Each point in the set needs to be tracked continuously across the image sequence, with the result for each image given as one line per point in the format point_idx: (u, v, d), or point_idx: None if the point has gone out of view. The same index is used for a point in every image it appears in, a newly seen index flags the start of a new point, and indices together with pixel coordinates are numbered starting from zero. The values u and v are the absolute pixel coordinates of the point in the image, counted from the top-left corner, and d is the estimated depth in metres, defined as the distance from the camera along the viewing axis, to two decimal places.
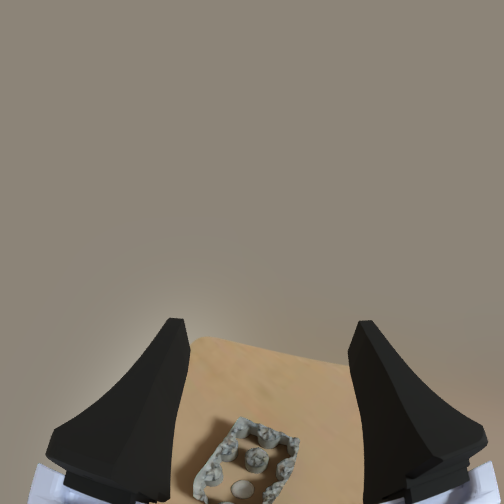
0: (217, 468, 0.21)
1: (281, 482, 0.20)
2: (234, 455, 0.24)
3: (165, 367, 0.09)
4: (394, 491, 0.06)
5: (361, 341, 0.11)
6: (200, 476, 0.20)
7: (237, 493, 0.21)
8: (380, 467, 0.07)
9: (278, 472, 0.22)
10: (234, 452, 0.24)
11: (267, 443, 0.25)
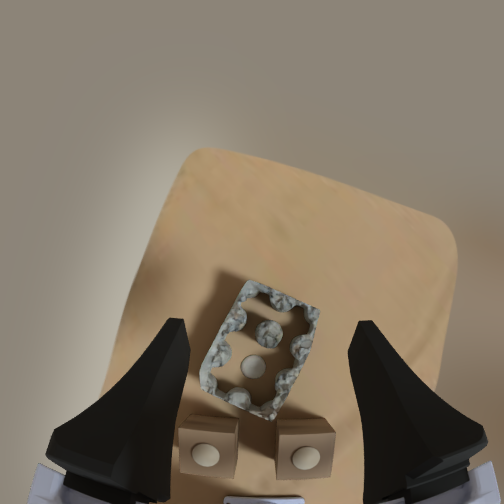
0: (224, 352, 0.23)
1: (296, 370, 0.22)
2: (243, 326, 0.25)
3: (165, 367, 0.09)
4: (394, 491, 0.06)
5: (361, 341, 0.11)
6: (206, 365, 0.23)
7: (247, 372, 0.25)
8: (380, 467, 0.07)
9: (293, 352, 0.24)
10: (242, 326, 0.24)
11: (282, 311, 0.25)
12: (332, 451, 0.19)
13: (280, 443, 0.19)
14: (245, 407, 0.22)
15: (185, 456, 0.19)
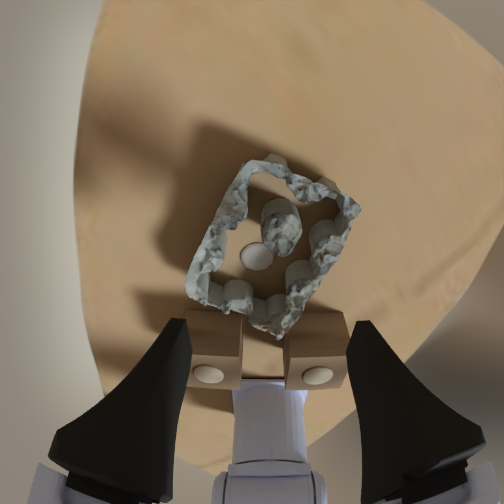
0: (216, 258, 0.17)
1: (315, 283, 0.17)
2: None
3: (168, 367, 0.09)
4: (391, 492, 0.06)
5: (359, 341, 0.11)
6: (192, 276, 0.17)
7: (249, 263, 0.20)
8: (377, 468, 0.07)
9: (313, 255, 0.17)
10: None
11: None
12: (346, 369, 0.20)
13: (291, 364, 0.19)
14: (246, 313, 0.20)
15: None
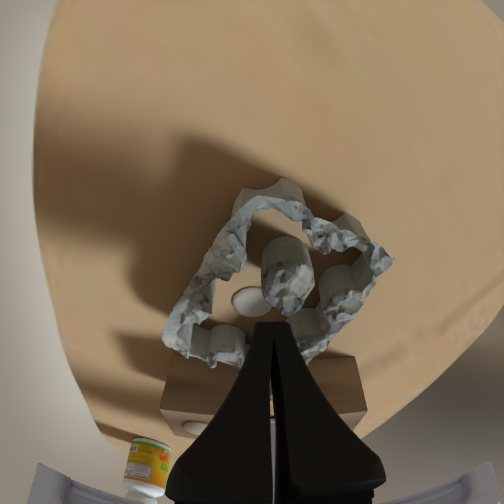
0: (201, 310, 0.13)
1: (323, 343, 0.14)
2: None
3: None
4: None
5: (273, 343, 0.11)
6: (171, 328, 0.13)
7: (242, 309, 0.16)
8: (278, 479, 0.07)
9: (324, 311, 0.14)
10: None
11: None
12: (357, 422, 0.16)
13: None
14: (236, 365, 0.16)
15: (177, 427, 0.16)
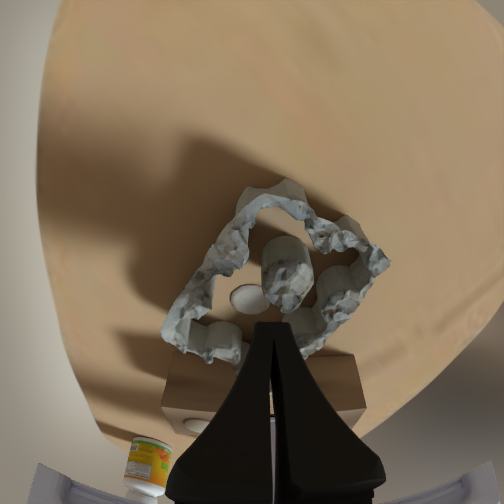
0: (201, 305, 0.13)
1: (319, 342, 0.14)
2: None
3: None
4: None
5: (273, 343, 0.11)
6: (170, 322, 0.13)
7: (240, 306, 0.16)
8: (278, 479, 0.07)
9: (321, 310, 0.14)
10: None
11: None
12: (356, 420, 0.16)
13: None
14: (232, 362, 0.16)
15: (178, 424, 0.17)
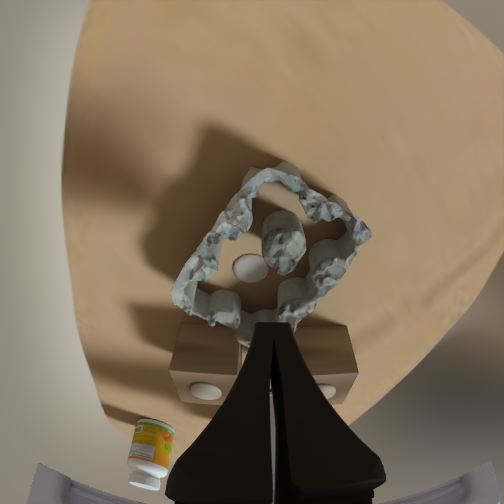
0: (209, 267, 0.15)
1: (310, 305, 0.16)
2: None
3: None
4: None
5: (273, 343, 0.11)
6: (180, 283, 0.16)
7: (241, 275, 0.18)
8: (278, 479, 0.07)
9: (313, 276, 0.16)
10: None
11: None
12: (350, 386, 0.18)
13: None
14: (232, 326, 0.19)
15: (184, 391, 0.19)
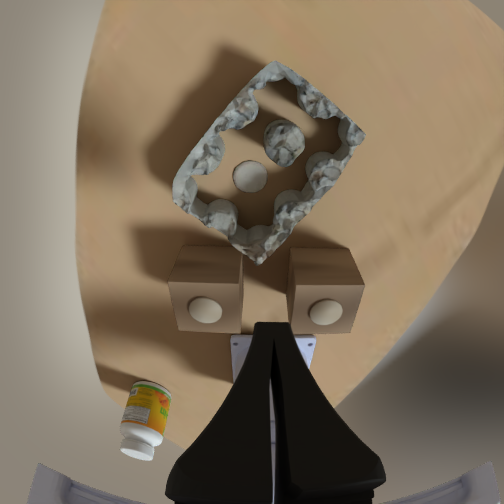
0: (213, 156, 0.16)
1: (307, 205, 0.17)
2: None
3: None
4: None
5: (272, 343, 0.11)
6: (183, 172, 0.16)
7: (240, 182, 0.19)
8: (278, 479, 0.07)
9: (310, 178, 0.17)
10: (248, 122, 0.15)
11: None
12: (357, 306, 0.19)
13: (296, 294, 0.18)
14: (228, 233, 0.19)
15: (182, 313, 0.19)
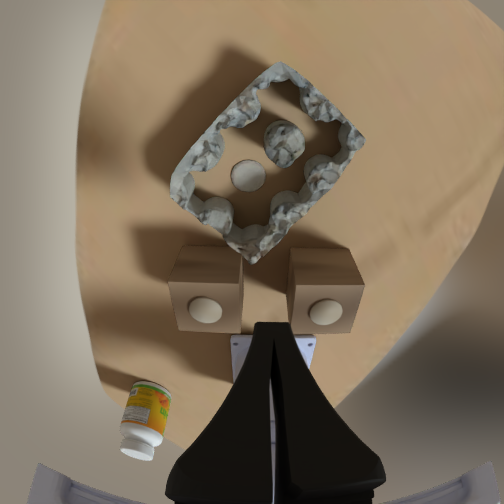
0: (213, 153, 0.16)
1: (304, 207, 0.17)
2: None
3: None
4: None
5: (273, 343, 0.11)
6: (182, 168, 0.16)
7: (238, 181, 0.19)
8: (278, 479, 0.07)
9: (308, 180, 0.17)
10: None
11: None
12: (357, 306, 0.19)
13: (296, 294, 0.18)
14: (223, 231, 0.19)
15: (182, 312, 0.19)
